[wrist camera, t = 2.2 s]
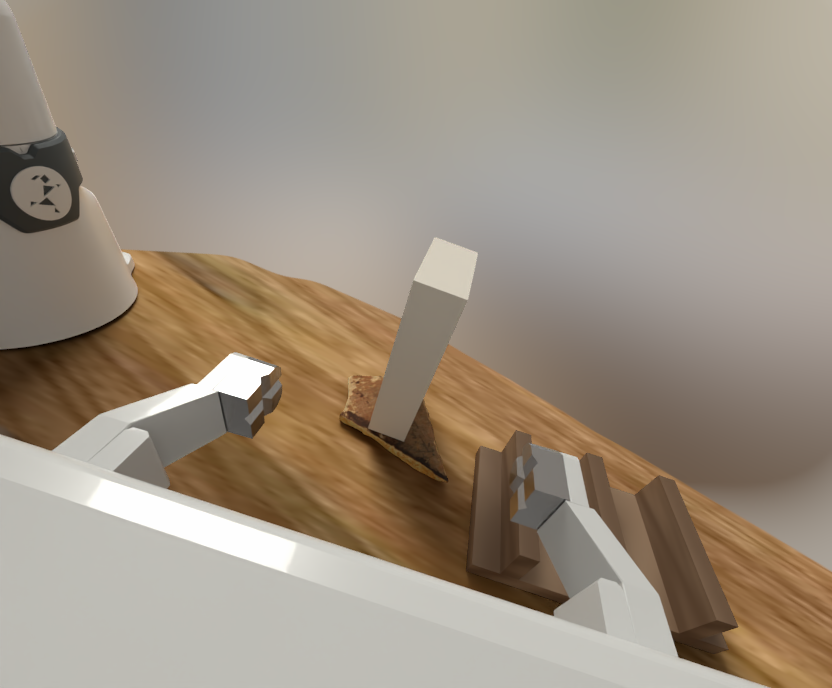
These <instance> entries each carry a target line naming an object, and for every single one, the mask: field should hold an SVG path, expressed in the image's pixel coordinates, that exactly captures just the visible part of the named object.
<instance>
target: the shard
mask: <svg viewBox="0 0 832 688" xmlns="http://www.w3.org/2000/svg"><path fill="white" fill-rule="evenodd" d="M383 378H384V376H352V377H349V378H348V386H349V390H348V400H347V404H346V407H345V410H344V411H343V412H342V413H341V414H340V416H339V419H340V421H342V422H343V423H344V424H347V425H349V426H352V427H354V428H356V429H358V430H360V431H362V433H363V434H364V435H367V436H370V437H372V438H373V439H374V440H376V441H377V442H378V443H380V444H381V445H382V446H383V447H384V448H385V449H387V450H388V451H390V452H391V453H392V454H394V455H395V456H397V457H398V458H400V459H401V460H402V461H404V462H406V463H407V464H408V465H410V466H411V467H412V468H414V469H416V470H417V471H420V472H422V473H423V474H426V475H428V476H429V477H431V478H432V479H435V480H438V481H441V482H442V481H444V482H448V478H447V476H446V473H445V470H444V466H443V463H442V460H441V457H440V455H439V453H438V449H437V446H436V442H435V439H434V433H433V428H432V425H431V422H430V419H429V414H428V411H427V408H426V406H425V401H424V399H423V400H422V403H421V405H420V407H419V409H418V411H417V414H416V416H415V418H414V420H413V422H412V425H411V427H410V429H409V431H408V434H407V436H406V438H405V440H404V442H403V441H401V440H398V439H395V438H392V437H390V436H387V435H384V434H382V433H379V432H376V431H374V430H371V429H368V427H369V424H370V421H371V417H372V414H373V411H374V408H375V404H376V401H377V398H378V394H379V391H380V388H381V385H382V381H383Z"/></svg>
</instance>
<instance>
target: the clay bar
mask: <svg viewBox="0 0 832 688" xmlns="http://www.w3.org/2000/svg"><path fill="white" fill-rule="evenodd" d="M477 256H478V253H477V252H474V251H471V250H469V249H466V248H463V247H461V246H458V245H455V244H452V243H449V242H447V241H444V240H441V239H439V238H436V237H435V238H434V240H433V242H432V244H431V246H430V248H429V250H428V252H427V254H426V256H425V258H424V260H423V262H422V264H421V266H420V268H419V270H418V272H417V274H416V276H415V278H414V281H413V284H412V287H411V290H410V294H409V297H408V300H407V304H406V307H405V310H404V313H403V316H402V320H401V323H400V326H399V329H398V333H397V336H396V339H395V342H394V346H393V349H392V352H391V355H390V359H389V362H388V365H387V368H386V372H385V375H384V378H383V381H382V385H381V388H380V391H379V394H378V398H377V401H376V404H375V408H374V411H373V414H372V417H371V421H370V424H369V427H368V429H371V430H374V431H376V432H379V433H382V434H384V435H387V436H390V437H392V438H395V439H398V440H401V441H403V442H404V440H405V438H406V436H407V434H408V431H409V429H410V427H411V425H412V422H413V420H414V418H415V416H416V414H417V411H418V409H419V407H420V405H421V403H422V400H423V398H424V396H425V394H426V391H427V389H428V387H429V385H430V383H431V380H432V378H433V376H434V374H435V372H436V369H437V367H438V365H439V363H440V360H441V358H442V356H443V354H444V352H445V349H446V347H447V345H448V343H449V340H450V338H451V336H452V334H453V332H454V330H455V327H456V325H457V323H458V321H459V318H460V316H461V314H462V312H463V310H464V307H465V305H466V303H467V301H468V296H469V292H470V287H471V282H472V278H473V273H474V269H475V264H476V260H477Z"/></svg>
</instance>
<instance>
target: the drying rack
mask: <svg viewBox="0 0 832 688" xmlns="http://www.w3.org/2000/svg"><path fill="white" fill-rule="evenodd" d="M527 443H531V444H532V441H531V435H529V434H526V433H523V432H520V431H517V430H516V431H515V433H514V434H513V436H512V437H511V439H510V440H509V442H508V443H507V445H506V446H505V448H504V450H503V451H502V452H499V451H496V450H492V449H489V448H486V447H483V446H480V448H479V449H478V451H477V453H476V459H475V471H474V483H473V495H472V507H471V519H470V530H469V542H468V554H467V566H466V571H467V572H470V573H473V574H476V575H479V576H482V577H485V578H488V579H491V580H494V581H497V582H500V583H503V584H506V585H509V586H512V587H515V588H518V589H521V590H524V591H527V592H530V593H533V594H536V595H539V596H542V597H545V598H548V599H551V600H554V601H557V602H560V603H565V602H566V601H568V600H569V599H570V598H569V596H568V594H567V592H566V590H565V588H564V586H563V584H562V582H561V580H560V578H559V576H558V574H557V572H556V570H555V567H554V565H553V563H552V561H551V559H550V557H549V555H548V553H547V551H546V549H545V547H544V545H543V543H542V541H541V539H540V537H539V535H538V533H537V531H538V530H536V529H533V528H530V527H527V526H524V525H521V524H518V523H515V522H513V521H510V499H511V497H512V496H513V494H514V493H513V491H512V490H511V488H510V487H509V479H510V472H511V468H512V465H513V463H514V461H515V460H516V458H517V457H520V456H522V449H523V447H524V446H525V445H526V444H527ZM579 462H580V467H581V471H582V476H583V481H584V485H585V490H586V494H587V499H588V504H589V508H592V509H594V510H595V511H596V512H597V513H598V515H599V516H600V517H601V519H602V520H603V521H604V523H605V524H606V525H607V527H608V528H609V529H610V531H611V532H612V533H613V535H614V536H615V537H616V539H617V540H618V541H619V543H620V544H621V545H622V547H623V548H624V549H625V551H626V552H627V553H628V555H629V556H630V557H631V559H632V560H633V561H634V563H635V564H636V565H637V567H638V568H639V569H640V571H641V572H642V573H643V575H644V576H645V577H646V579H647V580H648V581H649V582H650V584H651V585H652V586H653V588H654V589H655V590H656V592H657V593H658V594H659V597H660V600H661V603H662V606H663V610H664V613H665V616H666V619H667V622H668V626H669V629H670V632H671V635H672V638H673V640H674V641H677V642H680V643H683V644H686V645H689V646H692V647H695V648H698V649H701V650H704V651H707V652H710V653H713V654H715V653H718V652H722V651H726V650H728V647H727V645H726V642H725V640H724V637H723V635H722V632H725V631H728V630H731V629H734V628H737V627H738V625H737V623H736V620H735V618H734V616H733V613H732V611H731V609H730V607H729V604H728V602H727V600H726V597H725V595H724V593H723V591H722V588H721V586H720V584H719V581H718V579H717V577H716V575H715V572H714V570H713V568H712V565H711V563H710V561H709V559H708V556H707V554H706V552H705V549H704V547H703V545H702V543H701V540H700V538H699V536H698V533H697V531H696V529H695V527H694V524H693V522H692V520H691V517H690V515H689V513H688V511H687V508H686V506H685V504H684V501H683V499H682V497H681V495H680V492H679V490H678V488H677V485H676V483H675V481H674V480H671V479H668V478H665V477H662V476H657V477H656V478H655V479H654V480H653V481H651V482H650V483H649V484H648V485H646V486H645V487H644V488H643V489H641V490H640V491H639V492H638V493H637V494H635V495H633V494H630V493H627V492H624V491H621V490H618V489H615V488H611V487H610V485H609V482H608V478H607V474H606V470H605V467H604V463H603V459H602V457H599V456H596V455H592V454H589V453H586V454H585V455H584V456H583V457H582V458H581V460H580V461H579Z"/></svg>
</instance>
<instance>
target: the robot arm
mask: <svg viewBox="0 0 832 688" xmlns="http://www.w3.org/2000/svg"><path fill="white" fill-rule="evenodd" d="M76 161H78V160H77V158H76V155H75V152H74V150H73V148H71V147H70V144H69V142H68V139H67V137H66V135H65V133H64V132H63V131H62V130H60V129H59V128H58V127H56V126H55V123H54V121H53V118H52V115H51V113H50V110H49V108H48V105H47V102H46V100H45V97H44V94H43V91H42V89H41V86H40V83H39V81H38V78H37V76H36V73H35V70H34V67H33V65H32V62H31V59H30V57H29V54H28V51H27V49H26V46H25V44H24V41H23V38H22V36H21V33H20V30H19V28H18V25H17V22H16V20H15V17H14V15H13V13H12V11H11V9H10V8H9V6H8V4H7V3H6V1H5V0H0V349H12V348H21V347H28V346H35V345H40V344H46V343H50V342H55V341H59V340H63V339H66V338H70V337H73V336H76V335H79V334H82V333H85V332H88V331H90V330H93V329H95V328H97V327H100V326H102V325H104V324H106V323H108V322H110V321H111V320H113V319H115V318H116V317H118V316H119V315H121V314H122V313H123V312H125V311H126V310H127V309H128V308H129V307H130V306H131V305H132V304H133V302H134V301H135V299H136V297H137V293H138V288H137V285H136V283H135V281H134V279H133V278H132V276H131V273H132V271H133V268H134V261H133V259H132V257H131V255H130V254H128V253H125V252H121V250H120V247H119V245H118V243H117V241H116V239H115V237H114V234H113V232H112V230H111V228H110V226H109V224H108V222H107V220H106V217H105V215H104V213H103V211H102V209H101V207H100V205H99V203H98V201H97V199H96V197H95V196H94V194H93V193H92V192H91V191H89V190H87V189H86V188H84V187H82V186H80V184H81V183H82V180H83V178H82V175H81V173H80V170H79V167H78V164H77V162H76ZM280 376H281V368H280V367H278V366H276V365H273V364H270V363H267V362H264V361H261V360H258V359H255V358H252V357H248V356H245V355H242V354H239V353H236V352H235V353H232V354H230V355H228V356H227V357H226V358H225V359H224V360H223V361H222V362H221V363H220V364H219V365H218V366H216V367H215V368H214V369H213V370H212V371H211V372H210V373H209V374H208V375H207V376H205V377H204V378H203V379H202V380H201V381H200V382H199V383H198V384H197V385H196V384H193V383H192V384H189V385H186V386H183V387H180V388H177V389H174V390H171V391H168V392H165V393H162V394H159V395H156V396H153V397H150V398H147V399H144V400H141V401H138V402H135V403H132V404H129V405H126V406H123V407H120V408H117V409H114V410H111V411H108V412H105V413H102V414H99V415H98V416H97V417H95V418H94V419H93V420H91V421H90V422H89V423H87V424H86V425H85V426H84V427H82V428H81V429H80V430H78V431H77V432H76V433H74V434H73V435H72V436H71V437H69V438H68V439H67V440H65V441H64V442H63V443H61V444H60V445H59V446H58V447H56V448H55V449H54V450H52V451H50V450H47V449H44V448H41V447H38V446H35V445H32V444H28V443H25V442H22V441H19V440H16V439H13V438H10V437H7V436H4V435H1V434H0V688H769V687H766V686H763V685H760V684H757V683H754V682H751V681H748V680H745V679H742V678H739V677H736V676H733V675H730V674H727V673H724V672H721V671H718V670H715V669H712V668H709V667H706V666H703V665H700V664H697V663H694V662H691V661H688V660H684V659H681V658H678V654H677V651H676V648H675V645H674V642H673V638H672V635H671V632H670V629H669V626H668V622H667V619H666V616H665V613H664V610H663V606H662V603H661V600H660V597H659V594H658V593H657V592H656V590H655V589H654V588H653V586H652V585H651V584H650V582H649V581H648V580H647V579H646V577H645V576H644V575H643V573H642V572H641V571H640V569H639V568H638V567H637V565H636V564H635V563H634V561H633V560H632V559H631V557H630V556H629V555H628V553H627V552H626V551H625V549H624V548H623V547H622V545H621V544H620V543H619V541H618V540H617V539H616V537H615V536H614V535H613V533H612V532H611V531H610V529H609V528H608V527H607V525H606V524H605V523H604V521H603V520H602V519H601V517H600V516H599V515H598V513H597V512H596V511H595V510H594V509H592V508H589V504H588V499H587V494H586V490H585V485H584V481H583V476H582V471H581V467H580V462H579V460H578V458H577V457H574V456H571V455H568V454H565V453H561V452H558V451H555V450H552V449H548V448H545V447H541V446H538V445H535V444H531V443H527V444H526V445H525V446H524V447H523V449H522V456H520V457H517V458H516V460H515V461H514V463H513V465H512V468H511V472H510V479H509V487H510V488H511V490H512V491H513V493H514V494H513V496H512V497H511V499H510V521H513V522H515V523H518V524H521V525H524V526H527V527H530V528H533V529H536V530H538V531H537V533H538V535H539V537H540V539H541V541H542V543H543V545H544V547H545V549H546V551H547V553H548V555H549V557H550V559H551V561H552V563H553V565H554V567H555V570H556V572H557V574H558V576H559V578H560V580H561V582H562V584H563V586H564V588H565V590H566V592H567V594H568V596H569V598H570V599H569V600H568V601H566V602H565V603H563V604H562V605H560V606H559V607H558V608H556V609H555V610H554V616H551V615H548V614H545V613H542V612H539V611H536V610H532V609H529V608H526V607H523V606H520V605H517V604H514V603H511V602H508V601H505V600H502V599H499V598H496V597H493V596H490V595H487V594H484V593H481V592H478V591H475V590H472V589H469V588H466V587H463V586H460V585H457V584H454V583H451V582H448V581H445V580H442V579H438V578H435V577H432V576H429V575H426V574H423V573H420V572H417V571H414V570H411V569H408V568H405V567H402V566H399V565H396V564H393V563H390V562H387V561H384V560H381V559H378V558H375V557H372V556H369V555H366V554H363V553H360V552H357V551H354V550H351V549H347V548H344V547H341V546H338V545H335V544H332V543H329V542H326V541H323V540H320V539H317V538H314V537H311V536H308V535H305V534H302V533H299V532H296V531H293V530H290V529H287V528H284V527H281V526H278V525H275V524H272V523H269V522H266V521H262V520H259V519H256V518H253V517H250V516H247V515H244V514H241V513H238V512H235V511H232V510H229V509H226V508H223V507H220V506H217V505H214V504H211V503H208V502H205V501H202V500H199V499H196V498H193V497H190V496H187V495H183V494H180V493H177V492H174V491H171V490H168V489H167V488H168V487H169V486H170V480H169V478H168V475H167V473H166V471H165V469H164V467H166V466H167V465H169V464H171V463H173V462H175V461H176V460H178V459H180V458H182V457H184V456H186V455H187V454H189V453H191V452H193V451H195V450H196V449H198V448H200V447H202V446H204V445H205V444H207V443H209V442H211V441H213V440H214V439H216V438H218V437H220V436H222V435H223V434H225V433H226V431H228V432H231V433H235V434H238V435H242V436H245V437H248V438H252V439H253V437H254V436H255V435H256V433H257V432H258V431H259V429H260V428H261V427H262V425H263V424H264V423H265V422H264V416H265V415H267V414H269V413H271V412H273V411H274V409H275V408H276V406H277V405H278V402H279V400H280V398H281V394H282V384H281V383H280V382H279V380H278V379H279V378H280Z"/></svg>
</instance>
